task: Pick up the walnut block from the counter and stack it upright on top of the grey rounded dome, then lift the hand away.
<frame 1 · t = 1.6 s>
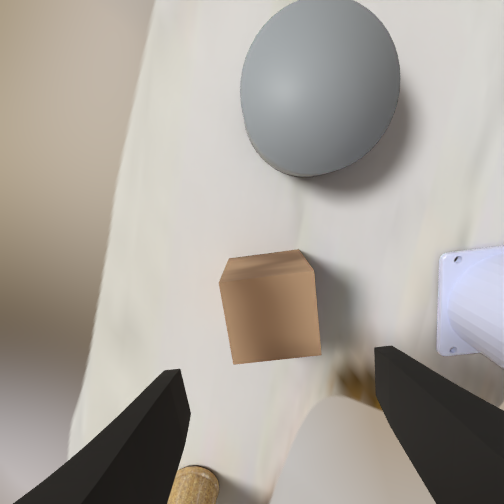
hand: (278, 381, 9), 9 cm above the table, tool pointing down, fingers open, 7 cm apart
sprinkles bottle: (195, 479, 23), on the table
walnut block: (267, 286, 19), on the table
grey rounded dome: (307, 109, 16), on the table
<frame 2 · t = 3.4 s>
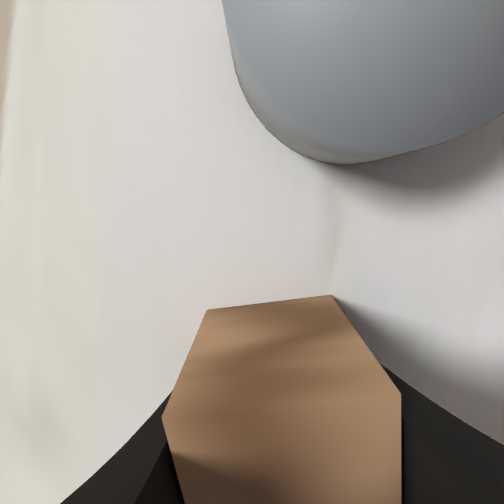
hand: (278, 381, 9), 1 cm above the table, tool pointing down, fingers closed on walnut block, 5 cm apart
walnut block: (275, 356, 11), on the table, touching gripper
grey rounded dome: (357, 28, 8), on the table
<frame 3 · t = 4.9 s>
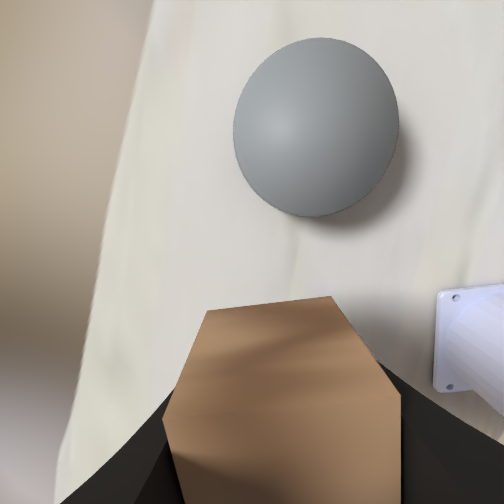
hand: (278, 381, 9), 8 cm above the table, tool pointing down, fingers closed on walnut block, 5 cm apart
walnut block: (275, 357, 11), point 7 cm above the table, touching gripper
grey rounded dome: (303, 145, 15), on the table
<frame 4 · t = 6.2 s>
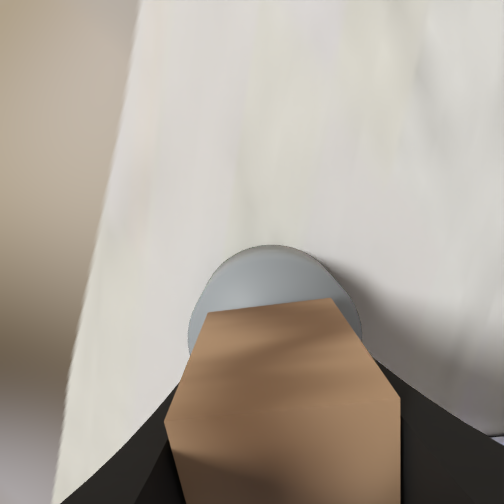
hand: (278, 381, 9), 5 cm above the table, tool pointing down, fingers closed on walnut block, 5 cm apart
walnut block: (275, 358, 11), point 4 cm above the table, touching gripper
grey rounded dome: (270, 312, 15), on the table
when the fingers open (5 cm above the table, at t = 6.9 s): walnut block stays where it is, resting on grey rounded dome.
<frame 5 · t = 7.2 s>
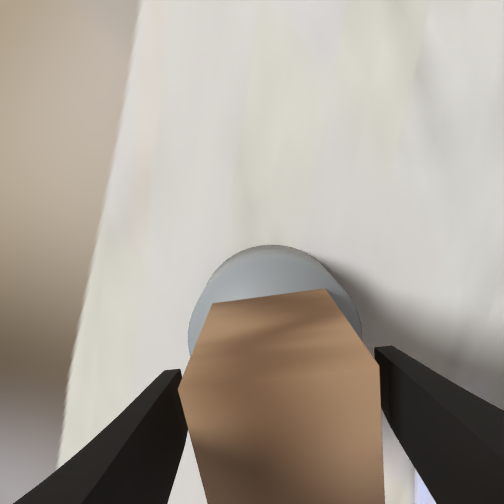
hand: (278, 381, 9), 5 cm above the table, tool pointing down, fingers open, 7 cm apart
walnut block: (275, 345, 12), point 3 cm above the table, touching grey rounded dome
grey rounded dome: (270, 312, 15), on the table
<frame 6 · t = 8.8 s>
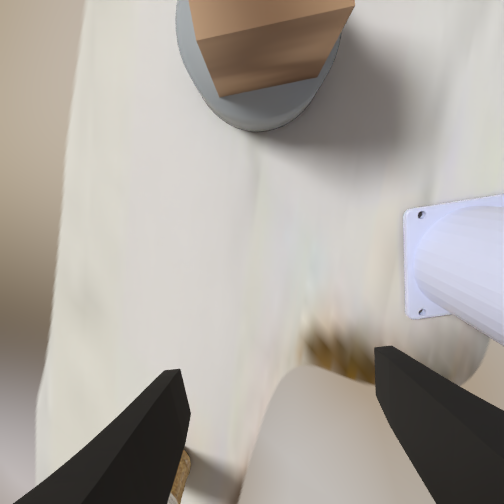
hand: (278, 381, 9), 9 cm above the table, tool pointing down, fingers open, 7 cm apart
sprinkles bottle: (167, 456, 23), on the table
walnut block: (259, 30, 12), point 3 cm above the table, touching grey rounded dome
grey rounded dome: (258, 58, 15), on the table
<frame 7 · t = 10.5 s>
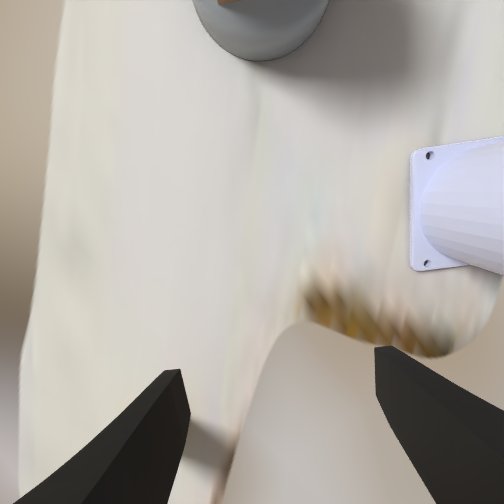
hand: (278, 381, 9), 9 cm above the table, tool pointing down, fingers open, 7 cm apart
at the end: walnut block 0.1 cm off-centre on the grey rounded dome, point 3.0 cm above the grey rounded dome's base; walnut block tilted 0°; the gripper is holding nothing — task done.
